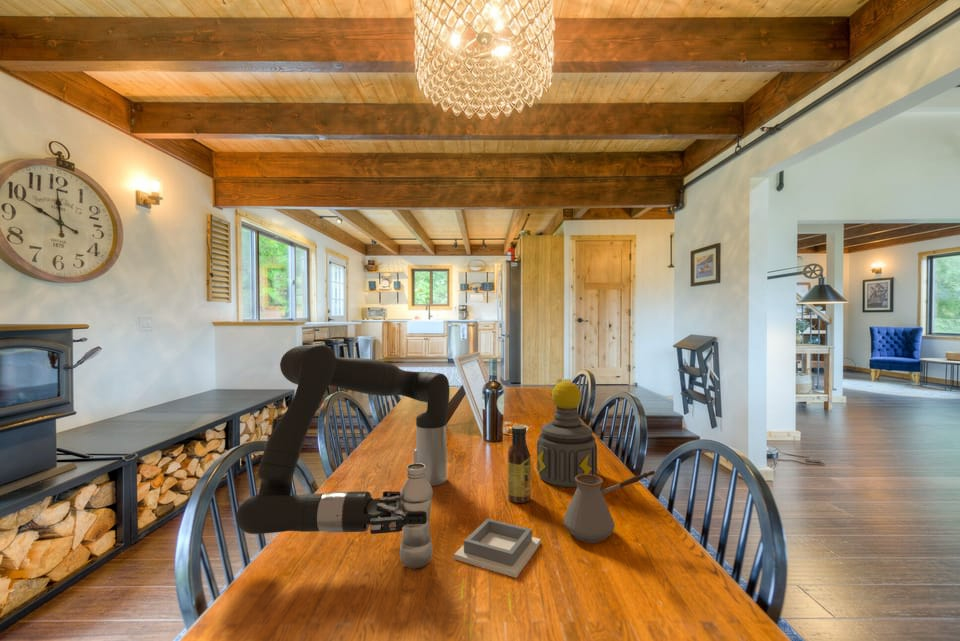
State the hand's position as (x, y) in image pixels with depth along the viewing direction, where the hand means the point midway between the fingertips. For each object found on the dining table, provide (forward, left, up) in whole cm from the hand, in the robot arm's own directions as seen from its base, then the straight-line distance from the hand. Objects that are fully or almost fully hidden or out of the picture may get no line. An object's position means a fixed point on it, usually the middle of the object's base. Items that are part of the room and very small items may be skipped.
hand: (427, 509), depth 87 cm
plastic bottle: (-2, -1, -11) cm, 11 cm away
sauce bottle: (+5, +37, -11) cm, 39 cm away
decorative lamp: (+12, +59, -11) cm, 61 cm away
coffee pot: (+31, +29, -11) cm, 44 cm away
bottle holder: (+11, +11, -11) cm, 19 cm away
